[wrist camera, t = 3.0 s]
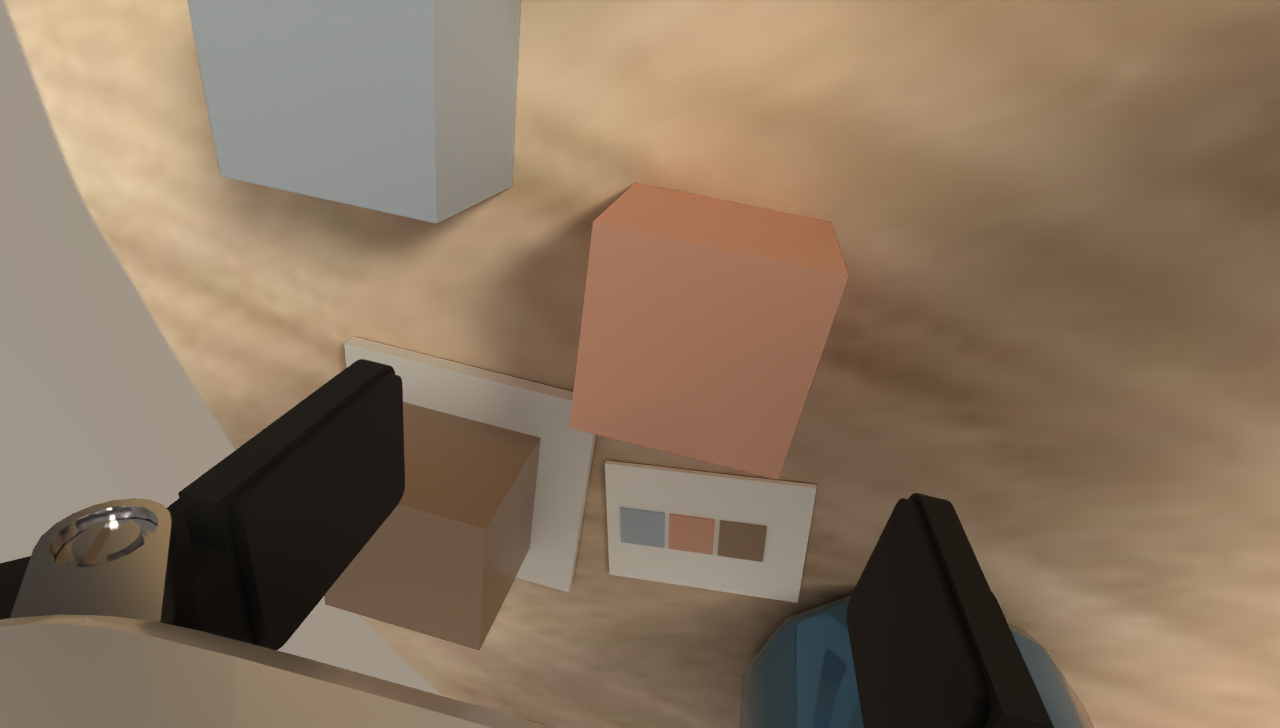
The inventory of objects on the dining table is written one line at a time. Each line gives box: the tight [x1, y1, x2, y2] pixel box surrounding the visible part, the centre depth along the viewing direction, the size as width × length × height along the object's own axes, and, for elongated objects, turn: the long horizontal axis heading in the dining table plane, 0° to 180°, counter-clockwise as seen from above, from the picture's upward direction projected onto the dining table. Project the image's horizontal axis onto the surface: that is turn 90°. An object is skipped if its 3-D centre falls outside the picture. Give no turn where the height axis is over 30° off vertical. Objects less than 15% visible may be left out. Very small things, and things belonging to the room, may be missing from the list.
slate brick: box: [187, 0, 521, 224], centre depth 16 cm, size 6×6×5 cm
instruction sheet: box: [605, 460, 817, 603], centre depth 24 cm, size 8×6×1 cm
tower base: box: [324, 337, 596, 650], centre depth 22 cm, size 10×10×6 cm
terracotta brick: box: [569, 183, 849, 480], centre depth 17 cm, size 6×6×5 cm
